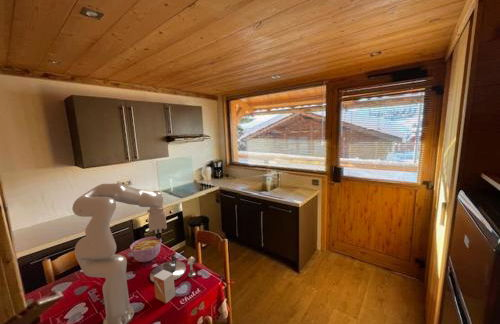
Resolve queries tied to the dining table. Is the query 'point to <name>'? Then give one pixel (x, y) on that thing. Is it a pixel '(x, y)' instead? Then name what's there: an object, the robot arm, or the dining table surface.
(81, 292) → the dining table surface
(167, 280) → the small box
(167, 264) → the cover
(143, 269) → the dining table surface
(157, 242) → the bowl of food
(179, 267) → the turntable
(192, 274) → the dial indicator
